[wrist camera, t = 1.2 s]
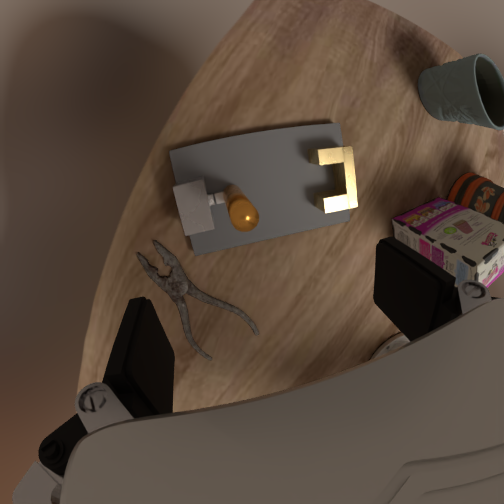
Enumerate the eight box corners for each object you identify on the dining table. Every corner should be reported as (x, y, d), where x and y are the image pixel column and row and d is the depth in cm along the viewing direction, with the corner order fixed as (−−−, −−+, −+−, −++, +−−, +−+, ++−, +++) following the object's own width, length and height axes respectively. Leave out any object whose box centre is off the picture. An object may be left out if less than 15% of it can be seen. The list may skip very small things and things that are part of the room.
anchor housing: (203, 176, 27) (203, 179, 24) (213, 220, 29) (214, 229, 26) (176, 182, 27) (172, 187, 24) (187, 227, 29) (185, 235, 26)
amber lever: (239, 182, 28) (256, 201, 19) (243, 200, 29) (261, 228, 19) (176, 197, 27) (161, 224, 18) (180, 215, 28) (169, 250, 19)
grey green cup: (445, 136, 31) (504, 145, 20) (405, 97, 28) (470, 92, 17) (458, 90, 28) (512, 91, 17) (420, 50, 25) (477, 38, 14)
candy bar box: (393, 248, 36) (471, 303, 21) (390, 218, 34) (476, 265, 19) (441, 223, 37) (515, 263, 22) (439, 195, 34) (520, 228, 19)
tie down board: (334, 123, 28) (339, 122, 27) (344, 217, 33) (349, 221, 32) (170, 150, 27) (168, 151, 26) (195, 251, 32) (195, 256, 30)
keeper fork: (339, 145, 28) (351, 146, 25) (345, 200, 31) (357, 206, 28) (307, 149, 28) (317, 149, 25) (314, 206, 30) (325, 213, 28)
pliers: (218, 367, 39) (108, 289, 31) (218, 363, 40) (110, 286, 32) (265, 330, 37) (151, 237, 30) (264, 327, 38) (153, 234, 30)
